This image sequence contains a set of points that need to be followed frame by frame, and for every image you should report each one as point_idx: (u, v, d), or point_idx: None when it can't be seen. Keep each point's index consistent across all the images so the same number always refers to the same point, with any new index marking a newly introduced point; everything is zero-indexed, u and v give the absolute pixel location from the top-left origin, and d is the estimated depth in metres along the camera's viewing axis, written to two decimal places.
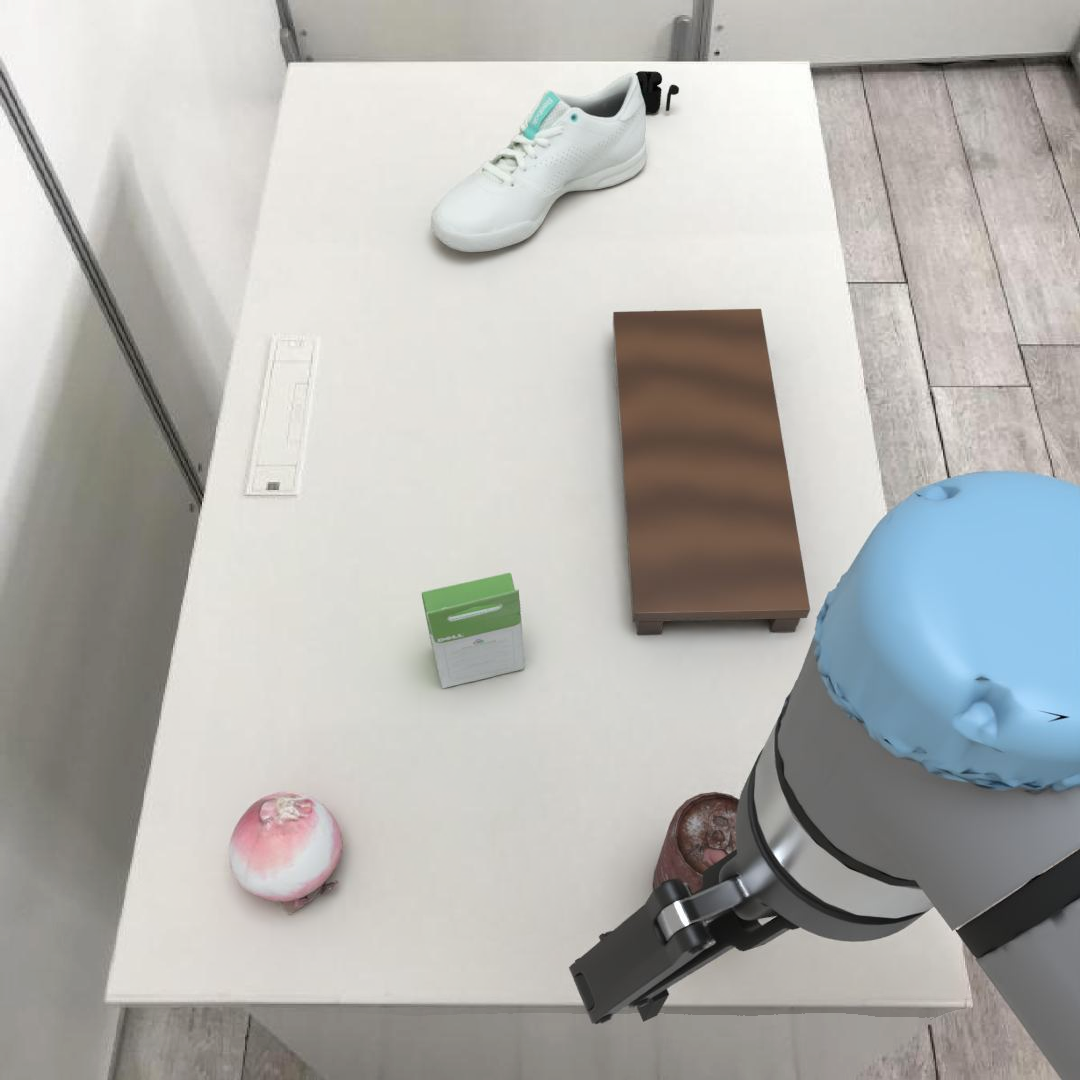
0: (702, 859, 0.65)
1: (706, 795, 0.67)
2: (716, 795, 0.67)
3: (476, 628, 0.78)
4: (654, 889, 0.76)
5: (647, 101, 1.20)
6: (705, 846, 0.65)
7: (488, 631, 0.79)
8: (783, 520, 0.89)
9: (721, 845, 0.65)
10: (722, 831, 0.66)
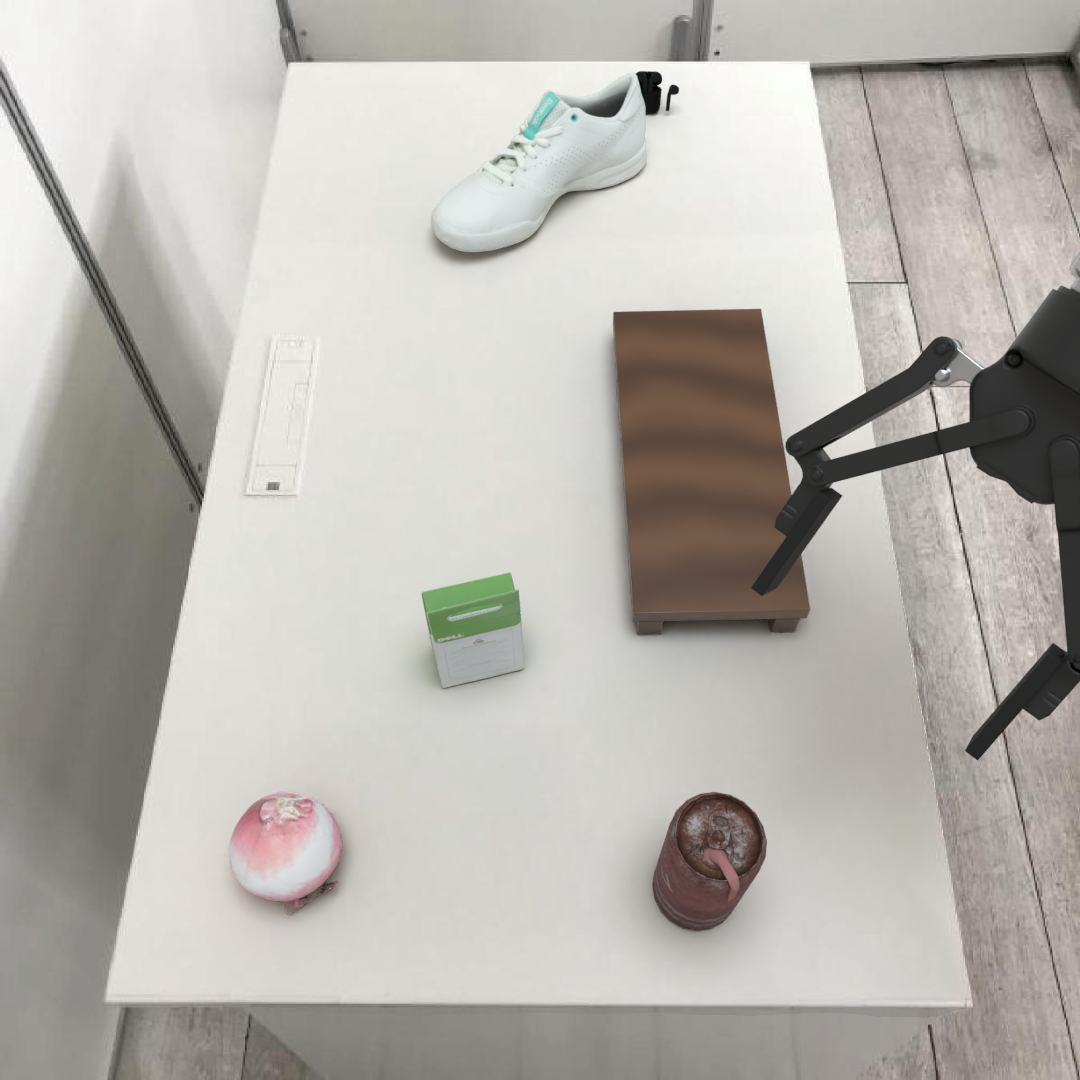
0: (702, 859, 0.65)
1: (706, 795, 0.67)
2: (716, 795, 0.67)
3: (476, 628, 0.78)
4: (654, 889, 0.76)
5: (647, 101, 1.20)
6: (705, 846, 0.65)
7: (488, 631, 0.79)
8: None
9: (721, 845, 0.65)
10: (722, 831, 0.66)
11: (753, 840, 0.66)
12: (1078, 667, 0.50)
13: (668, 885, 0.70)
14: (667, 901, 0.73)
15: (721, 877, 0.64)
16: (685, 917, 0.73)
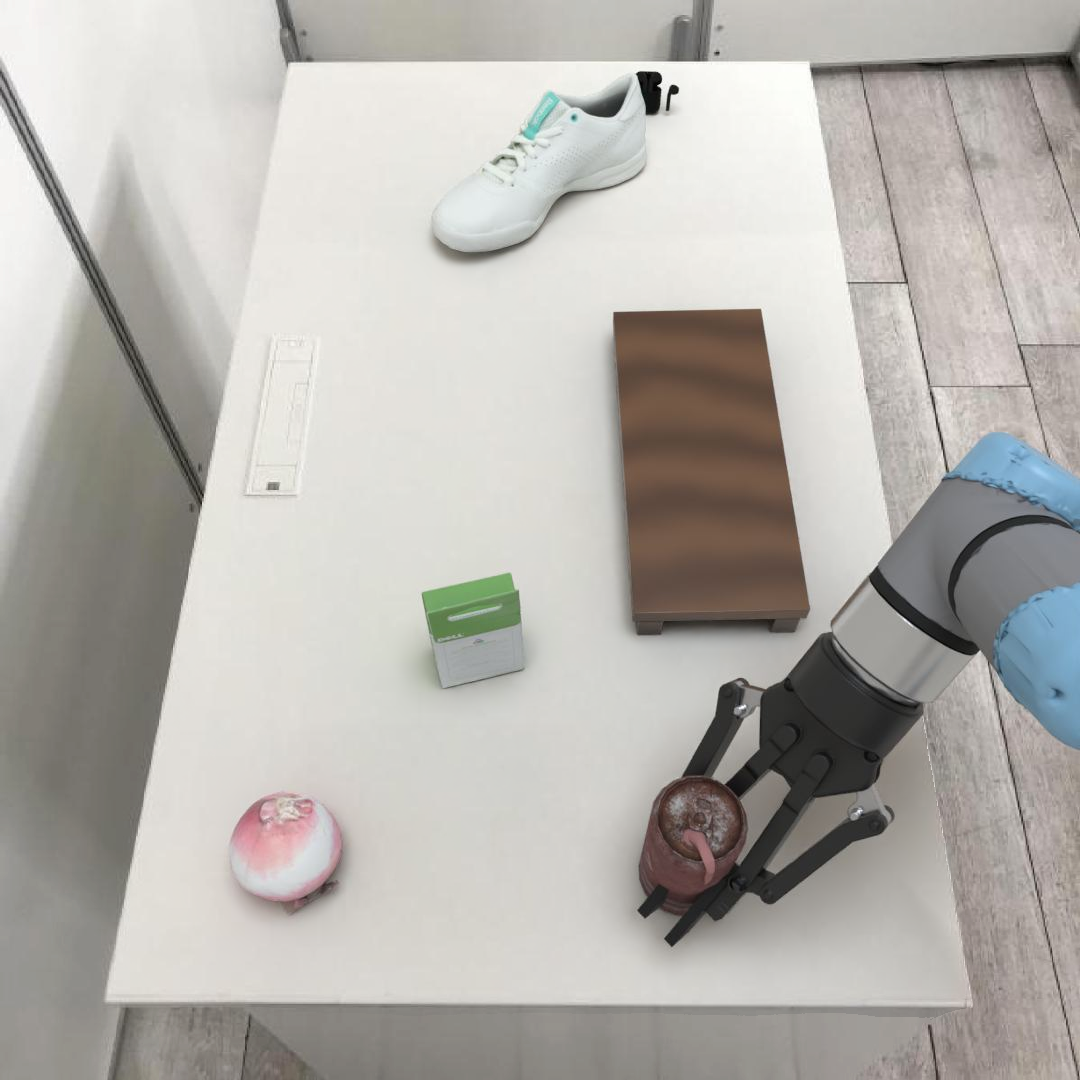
0: (681, 839, 0.66)
1: (692, 777, 0.67)
2: (702, 778, 0.67)
3: (476, 628, 0.78)
4: (639, 869, 0.77)
5: (647, 101, 1.20)
6: (685, 827, 0.66)
7: (488, 631, 0.79)
8: (783, 520, 0.89)
9: (701, 828, 0.66)
10: (704, 814, 0.66)
11: (734, 825, 0.66)
12: (733, 885, 0.68)
13: (649, 864, 0.71)
14: (649, 881, 0.73)
15: (697, 858, 0.65)
16: (665, 899, 0.73)
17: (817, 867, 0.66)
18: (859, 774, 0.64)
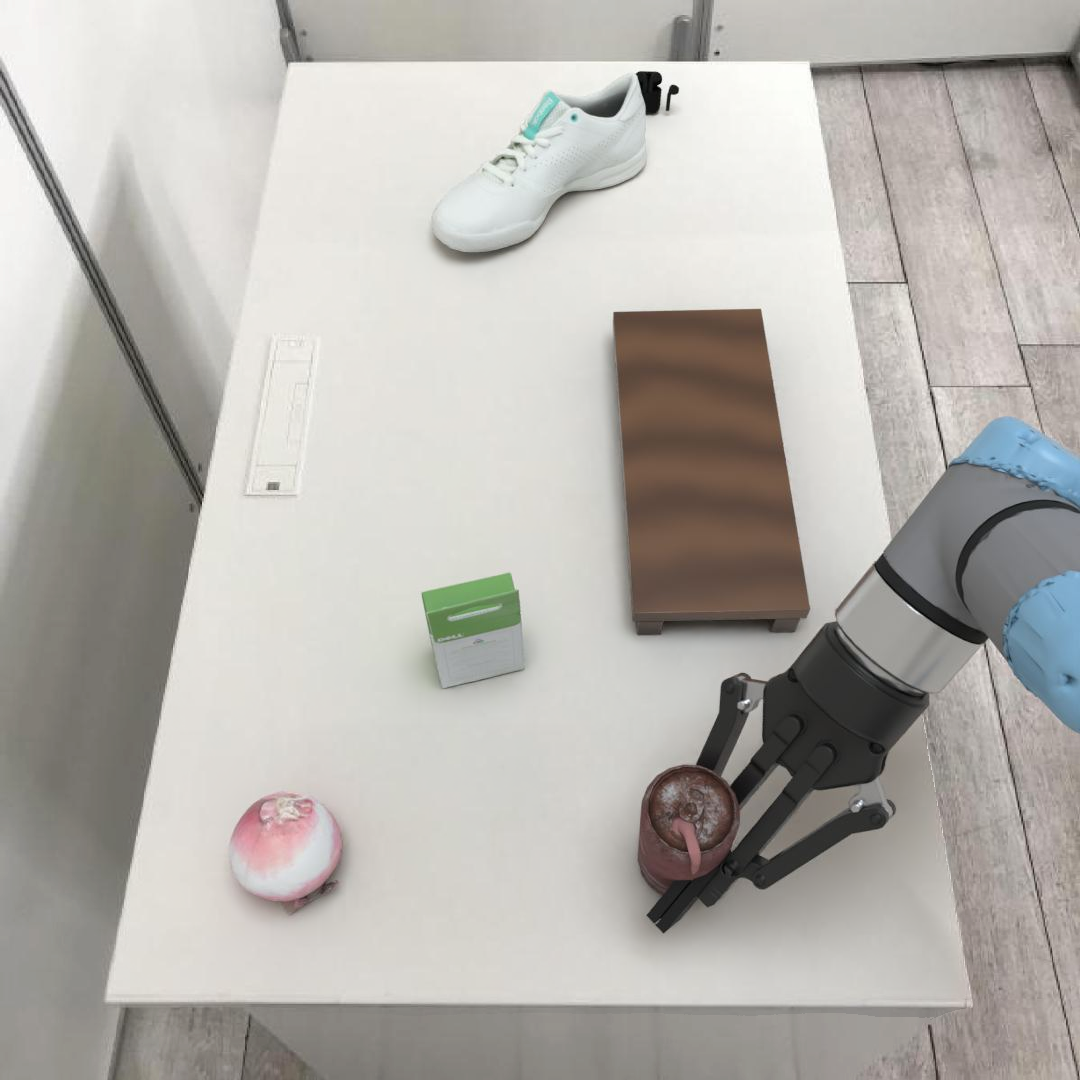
0: (669, 827, 0.65)
1: (688, 767, 0.67)
2: (698, 768, 0.67)
3: (476, 628, 0.78)
4: None
5: (647, 101, 1.20)
6: (675, 816, 0.65)
7: (488, 631, 0.79)
8: (783, 520, 0.89)
9: (691, 818, 0.65)
10: (696, 805, 0.66)
11: (725, 819, 0.65)
12: (725, 870, 0.67)
13: (642, 847, 0.70)
14: (643, 863, 0.73)
15: (684, 848, 0.64)
16: (658, 883, 0.73)
17: (813, 856, 0.65)
18: (864, 766, 0.63)
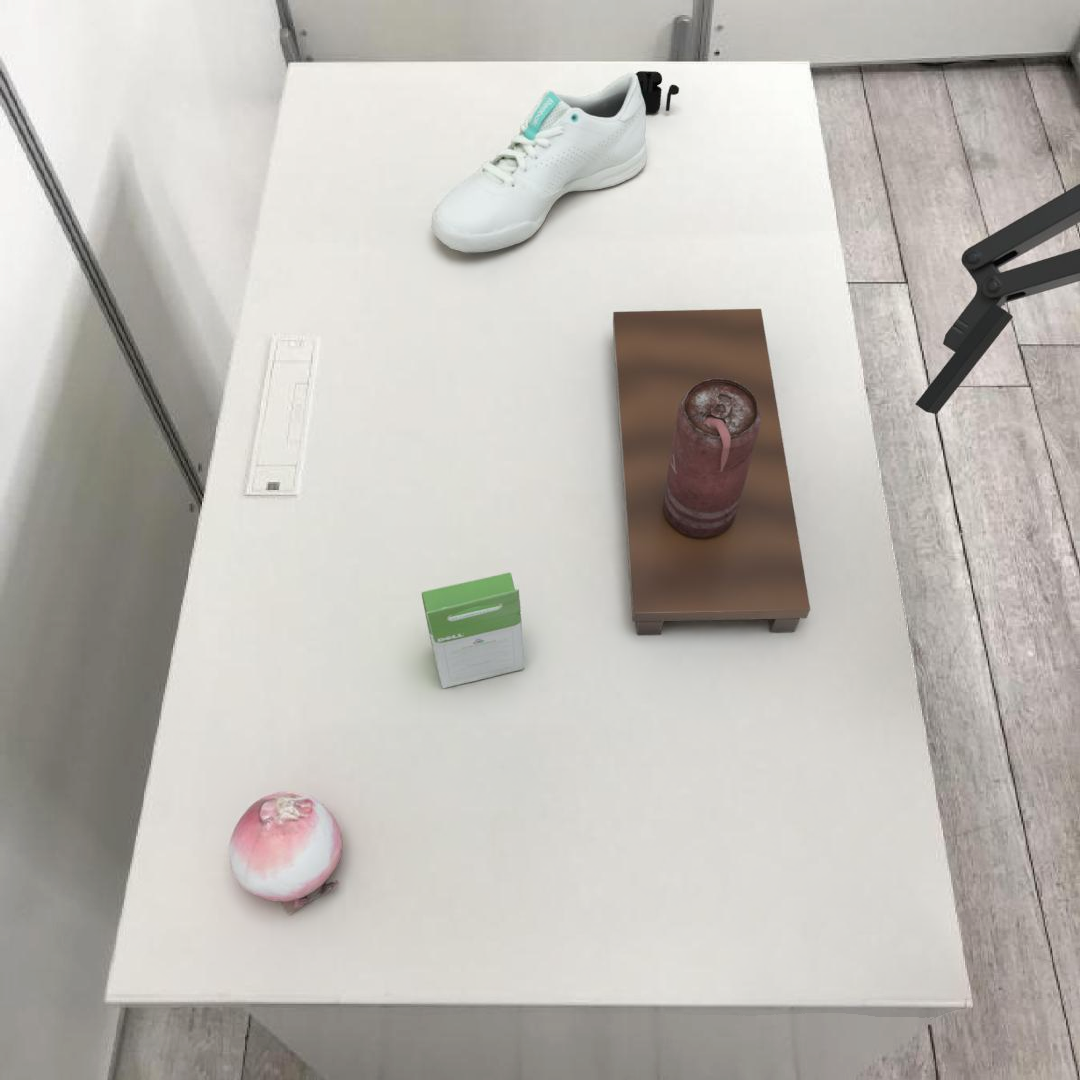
0: (703, 422, 0.77)
1: (716, 379, 0.79)
2: (725, 381, 0.79)
3: (476, 628, 0.78)
4: (664, 499, 0.88)
5: (647, 101, 1.20)
6: (708, 414, 0.77)
7: (488, 631, 0.79)
8: (783, 520, 0.89)
9: (721, 415, 0.77)
10: (724, 405, 0.78)
11: (749, 415, 0.77)
12: None
13: (674, 468, 0.82)
14: (672, 495, 0.85)
15: (716, 435, 0.76)
16: (685, 511, 0.85)
17: None
18: None
